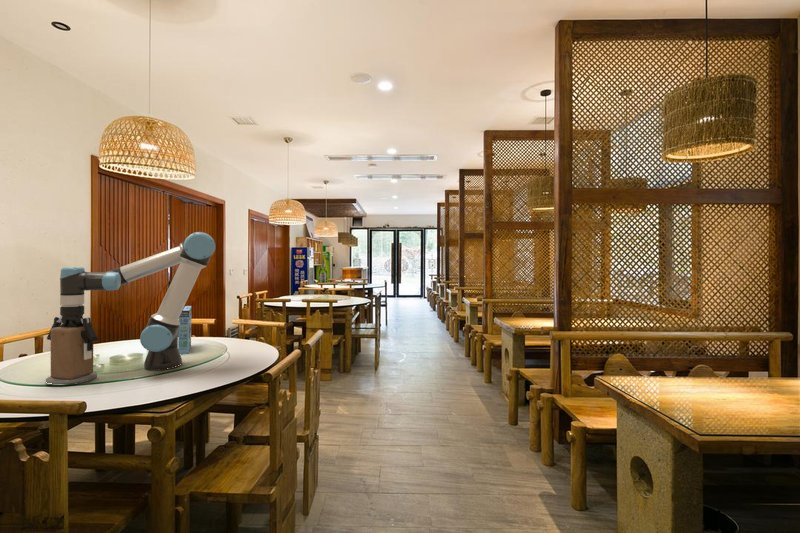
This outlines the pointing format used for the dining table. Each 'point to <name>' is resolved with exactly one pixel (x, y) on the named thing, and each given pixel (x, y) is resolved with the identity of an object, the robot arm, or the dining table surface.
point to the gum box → (185, 330)
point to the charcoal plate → (72, 381)
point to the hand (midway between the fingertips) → (72, 358)
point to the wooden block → (69, 353)
